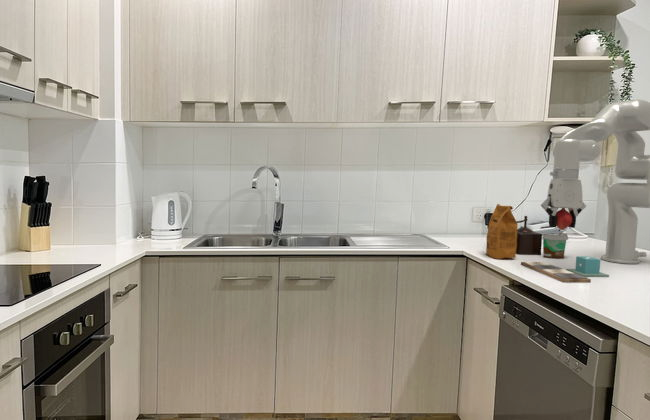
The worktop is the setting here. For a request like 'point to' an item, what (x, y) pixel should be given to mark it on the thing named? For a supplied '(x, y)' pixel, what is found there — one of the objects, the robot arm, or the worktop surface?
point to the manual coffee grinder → (528, 240)
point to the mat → (588, 274)
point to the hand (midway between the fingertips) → (561, 226)
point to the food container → (554, 245)
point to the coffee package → (502, 233)
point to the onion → (563, 219)
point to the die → (587, 265)
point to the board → (555, 272)
